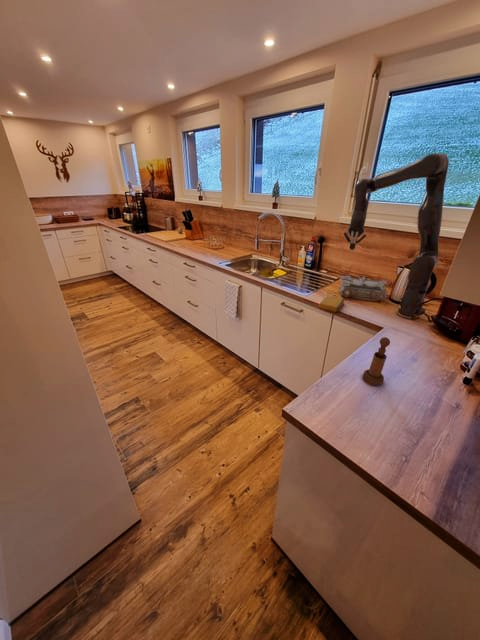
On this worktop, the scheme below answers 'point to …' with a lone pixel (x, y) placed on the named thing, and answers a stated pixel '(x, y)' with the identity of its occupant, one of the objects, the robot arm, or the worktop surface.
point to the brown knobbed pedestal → (377, 365)
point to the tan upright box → (331, 303)
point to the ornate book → (363, 288)
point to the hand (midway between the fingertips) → (351, 249)
